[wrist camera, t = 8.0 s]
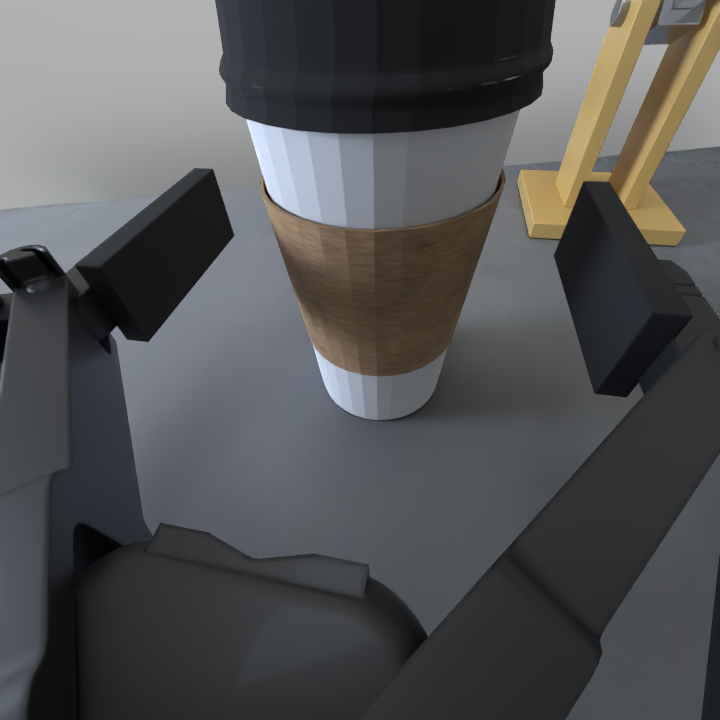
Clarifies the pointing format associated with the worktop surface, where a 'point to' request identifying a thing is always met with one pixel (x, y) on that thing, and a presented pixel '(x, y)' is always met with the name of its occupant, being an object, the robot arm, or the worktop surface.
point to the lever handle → (674, 20)
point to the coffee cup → (382, 166)
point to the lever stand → (648, 134)
